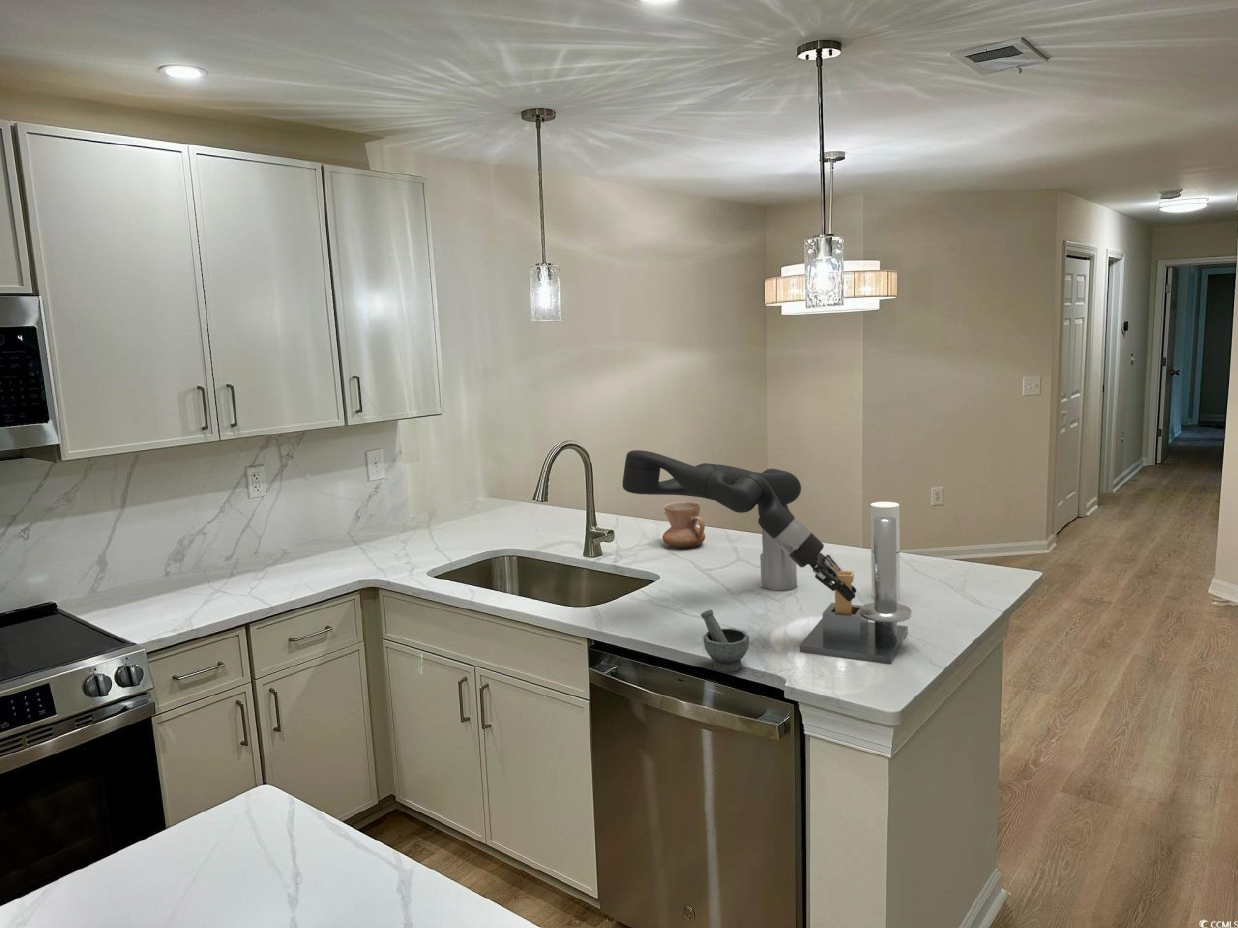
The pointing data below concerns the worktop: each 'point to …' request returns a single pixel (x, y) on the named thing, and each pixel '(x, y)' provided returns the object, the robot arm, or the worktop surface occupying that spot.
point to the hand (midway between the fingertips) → (852, 595)
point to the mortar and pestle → (724, 644)
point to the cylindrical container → (893, 511)
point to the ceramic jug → (684, 525)
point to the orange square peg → (840, 601)
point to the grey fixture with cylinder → (867, 612)
